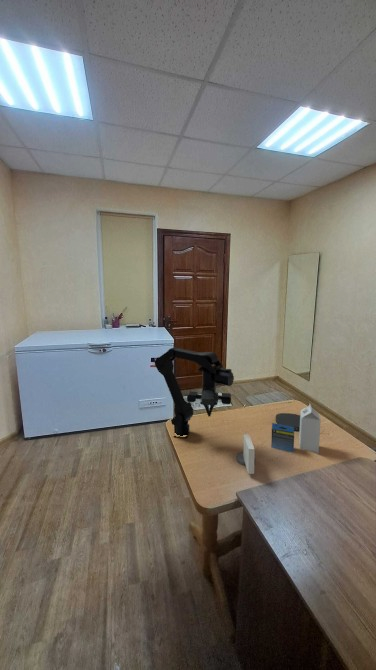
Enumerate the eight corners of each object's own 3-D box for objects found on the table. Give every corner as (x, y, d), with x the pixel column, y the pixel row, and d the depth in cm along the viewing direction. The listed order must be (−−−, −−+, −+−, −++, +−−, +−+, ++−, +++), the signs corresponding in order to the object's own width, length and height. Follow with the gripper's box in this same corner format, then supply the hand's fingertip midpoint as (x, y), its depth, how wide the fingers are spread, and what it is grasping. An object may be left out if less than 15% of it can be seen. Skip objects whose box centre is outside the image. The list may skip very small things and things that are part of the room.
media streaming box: (303, 419, 141) (304, 414, 141) (309, 433, 127) (309, 427, 127) (274, 416, 144) (275, 411, 144) (277, 430, 130) (277, 424, 130)
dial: (235, 454, 108) (235, 429, 107) (252, 454, 108) (253, 429, 106) (241, 477, 95) (241, 449, 93) (261, 477, 95) (261, 449, 93)
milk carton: (316, 445, 116) (318, 404, 113) (318, 454, 109) (321, 410, 107) (298, 442, 118) (300, 402, 115) (299, 451, 112) (302, 408, 109)
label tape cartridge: (294, 450, 113) (295, 422, 111) (293, 455, 109) (294, 427, 108) (272, 445, 117) (273, 419, 115) (270, 450, 113) (271, 422, 111)
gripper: (184, 387, 108) (184, 423, 111) (230, 389, 105) (230, 426, 107) (189, 378, 119) (189, 411, 121) (231, 380, 116) (231, 414, 118)
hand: (209, 416), depth 117 cm, fingers closed
